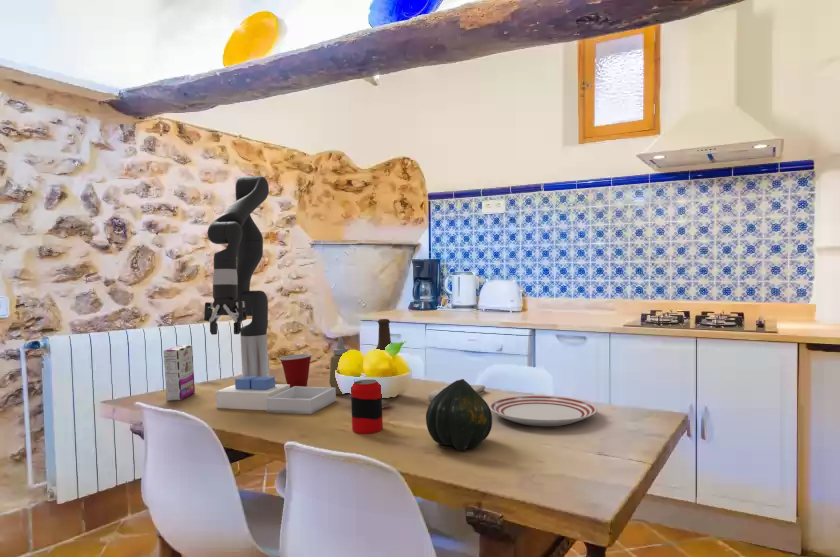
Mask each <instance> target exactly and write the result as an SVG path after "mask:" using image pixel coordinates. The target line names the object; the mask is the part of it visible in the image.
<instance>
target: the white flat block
mask: <svg viewBox="0 0 840 557" xmlns="http://www.w3.org/2000/svg"><path fill="white" fill-rule="evenodd" d="M287 389H290V384H287V383H285V384H284V383H275V387H273V388H270V389H268V390H252V389H250V390H246V389H235V384H233V385H230V386H227V387H223V388H221V389H219V390H216V391H215V406H216V407H215V408H216V409H232V410H249V411H250V410H253V411H267V399H266V398H268V397H271V396H273V395H275V394H278V393H280V392H282V391H285V390H287Z"/></svg>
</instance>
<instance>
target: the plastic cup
mask: <svg viewBox="0 0 840 557" xmlns="http://www.w3.org/2000/svg"><path fill="white" fill-rule="evenodd" d="M312 356H313V354H312V353H299V354H292V355H286V356H280V357H279V358H278V360H279V361H280V363H281V365H282V369H283V372H284V377H285V382H286V384H290V388H292V387H294V386H301V387H308V380H309V372H310V366H311V365H310V364H311V358H312Z"/></svg>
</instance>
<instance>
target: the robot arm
mask: <svg viewBox="0 0 840 557" xmlns="http://www.w3.org/2000/svg"><path fill="white" fill-rule="evenodd" d="M269 190H270V188H269V183H268V180H267V179H266V177H264V176H262V175H244V176H239V177H238V178H237V179H236V181H235V201H234V202H232V203H231V204H230V206H229V205H228V208H227V209H226V210H225V212H224V213H223V214H222V215H220V216H219V217H218V218H216V219H214V220H213V221H212V222H210V224H209V226H208V228H207V238H208V240H209V241H210V242H211V243H212V244H215V245H226V248H224V249H222V250H218V251H216V252H215V253H214V254H213V274H212V298H213V302H207V301H206V302H205V303H204V314H203V315H204V316H203V321H204V322H205V321H206V322H208V323H209V332H210V334H211V335H213V336H214V335H218V323H217V322H218V320H219V318H221V317H222V316H229V317H230V318H231V319H232V320H233V335H240V352H241V353H240V354H241V356H240V357H241V377H243V376H259V377H260V376H264V377H271V374H270V355H269V352H268V351H269V348H268V325H269V300H268V297H267V296H268V295H267V294H266V292H265V291H262V290H250V289H251V288H250V287H251V280H252V277H253V275H254V272H255V271H256V269H257V267H258V266H259V264H260V263H261V260H262V258H263V255H264V237H263V235H262V233H261V231H260V228H259V227H258V226H257V224H256V223H255V222H254V220H253V218H252V216H251V214H252V213H253V212H254V211H255V210H256V209H257V208H258V207H259V206H260V205H261V204H263V203H264V202H265V200H267V198H268V196H269V193H270V191H269ZM213 309H214V310H213ZM247 317H251V322H250V323H248V324H247V325H244V326H242V322H243V321H246V320H247Z"/></svg>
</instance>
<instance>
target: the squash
mask: <svg viewBox="0 0 840 557" xmlns="http://www.w3.org/2000/svg"><path fill="white" fill-rule="evenodd" d="M448 385H449V386H447V387H446V388H444V389H443V390H442V391H440V392H439V393H438V394H437V395H436V396H435V397H434V398H433V400H432V401H430V403H429V404H428V407H427V409H426V413H425V421H426V422H425V423H426V424H425V425H426V428H427V431H428V433H429V435H430V437H431V438H432V440H433V441H434V443H437V444H439V445H443V446H446V445H448V446H452V445H453V447H454V448H455V449H456V450H458V451H460V452H462V451H465V450H466V449H467V448H469V449H473V448H474V449H475V448H476V447H478V446H480V445H481V444H482V443H483V441H484V440H485V439H486V438H488V436H489V435H490V433H491V431H492V427H493V414H492V411H491V410H490V408H489V404H488V403H487V402H486V401H485V399H484V398H483V397H482V396H481V394H480V395H479V394H478V393H477V392H476V391H475V390H474V389H473V388H472V387H471V386H470V385H471V384H470V383H468V382H467V381H466V380H465V379H464V378H461V379H457V380H455V381H453V382H452V383H450V384H448Z"/></svg>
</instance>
